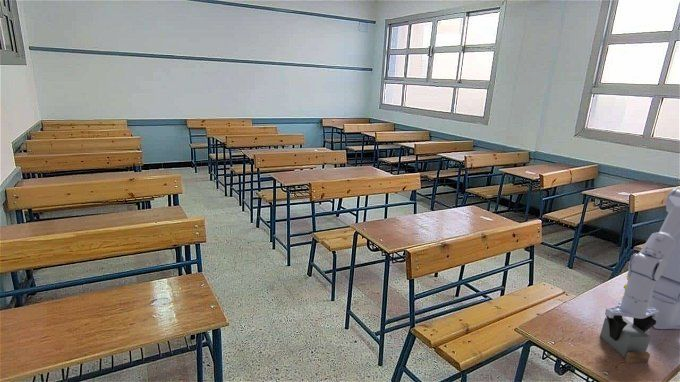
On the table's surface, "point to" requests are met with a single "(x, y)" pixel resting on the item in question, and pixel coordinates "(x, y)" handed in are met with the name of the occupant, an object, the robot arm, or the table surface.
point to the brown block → (637, 357)
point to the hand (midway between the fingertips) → (624, 338)
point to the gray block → (626, 338)
